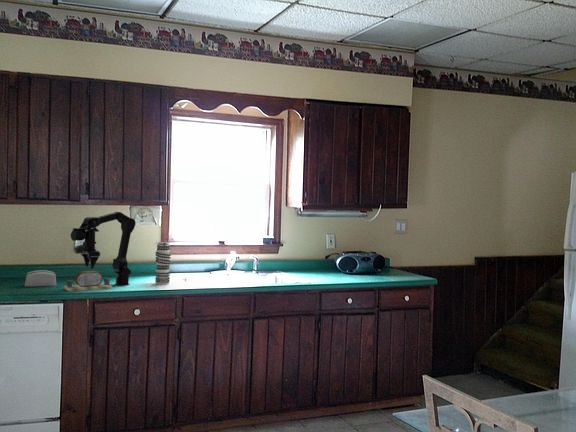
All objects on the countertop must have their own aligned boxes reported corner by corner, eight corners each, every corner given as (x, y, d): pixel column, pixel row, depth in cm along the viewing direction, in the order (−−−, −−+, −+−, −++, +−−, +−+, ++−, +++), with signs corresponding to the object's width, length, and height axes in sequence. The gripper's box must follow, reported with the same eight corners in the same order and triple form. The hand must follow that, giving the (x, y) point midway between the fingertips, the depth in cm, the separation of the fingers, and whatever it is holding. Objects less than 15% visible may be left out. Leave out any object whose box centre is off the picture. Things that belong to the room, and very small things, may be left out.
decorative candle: (153, 282, 380) (154, 241, 379) (168, 282, 384) (169, 241, 383) (155, 284, 372) (156, 243, 371) (171, 284, 375) (172, 243, 374)
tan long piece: (106, 286, 362) (107, 276, 362) (112, 288, 354) (112, 279, 354) (64, 288, 348) (64, 279, 348) (68, 291, 341) (68, 281, 340)
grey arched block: (55, 284, 362) (56, 268, 359) (56, 288, 359) (57, 272, 355) (24, 285, 355) (25, 269, 352) (24, 289, 351) (25, 273, 348)
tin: (101, 284, 356) (101, 270, 356) (103, 285, 354) (103, 270, 353) (74, 286, 348) (74, 271, 347) (76, 287, 345) (76, 272, 345)
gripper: (70, 238, 354) (69, 266, 354) (80, 241, 338) (80, 270, 339) (90, 238, 360) (89, 265, 361) (100, 241, 345) (100, 269, 346)
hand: (89, 267), depth 352 cm, fingers open, 9 cm apart
